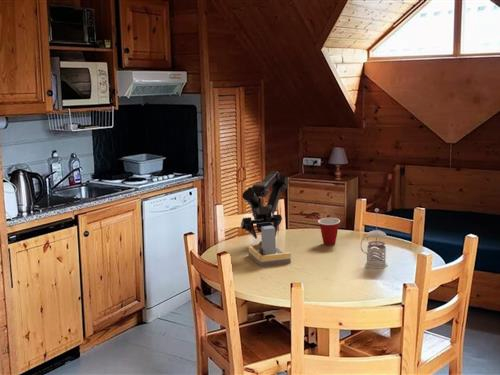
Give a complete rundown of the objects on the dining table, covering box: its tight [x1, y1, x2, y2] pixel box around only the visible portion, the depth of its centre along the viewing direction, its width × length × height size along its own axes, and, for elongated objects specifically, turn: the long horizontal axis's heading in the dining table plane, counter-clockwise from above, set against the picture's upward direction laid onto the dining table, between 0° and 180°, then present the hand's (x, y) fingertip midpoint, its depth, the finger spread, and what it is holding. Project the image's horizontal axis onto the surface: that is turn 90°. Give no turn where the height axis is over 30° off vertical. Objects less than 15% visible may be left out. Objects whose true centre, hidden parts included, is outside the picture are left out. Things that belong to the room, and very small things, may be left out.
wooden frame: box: [248, 245, 292, 267], centre depth 267 cm, size 18×14×4 cm
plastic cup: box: [317, 217, 341, 246], centre depth 289 cm, size 11×11×12 cm
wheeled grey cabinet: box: [258, 226, 277, 255], centre depth 264 cm, size 8×7×13 cm
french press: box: [360, 208, 389, 269], centre depth 253 cm, size 10×12×25 cm
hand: (265, 237), depth 269 cm, fingers open, 9 cm apart
